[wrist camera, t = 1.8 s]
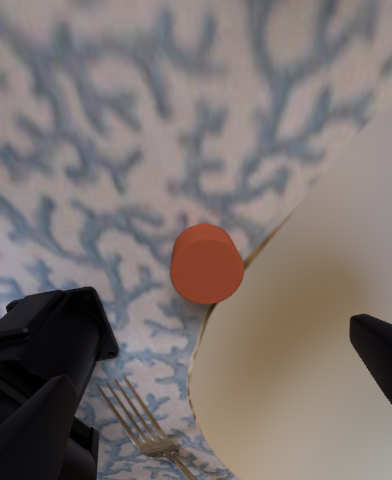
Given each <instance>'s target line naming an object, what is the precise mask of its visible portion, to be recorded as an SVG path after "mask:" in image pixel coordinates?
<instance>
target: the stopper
mask: <svg viewBox="0 0 392 480" xmlns="http://www.w3.org/2000/svg"><path fill="white" fill-rule="evenodd" d="M170 274H171V280H172V283H173V285H174V287H175V289H176V290H177V292H178V293H179V294H180V295H181V296H183V297H184V298H185V299H187V300H189V301H191V302H194V303H198V304H214V303H218V302H221V301H223V300H225V299H227V298H228V297H230V296H231V295H232V294H233V293H234V292H235V291H236V290H237V289H238V287H239V286H240V284H241V282H242V279H243V275H244V265H243V261H242V258H241V256H240V254H239V252H238V251H237V249H236V247H235V245H234V243H233V242H232V240H231V238H230V236H229V235H228V234H227V233H226V232H225V231H224V230H222V229H221V228H219V227H217V226H214V225H210V224H199V225H195V226H192V227H190V228H188V229H186V230H185V231H184V232H182V233H181V234H180V235H179V237H178V238H177V240H176V242H175V244H174V247H173V254H172V262H171V271H170Z"/></svg>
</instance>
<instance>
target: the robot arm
mask: <svg viewBox="0 0 392 480" xmlns="http://www.w3.org/2000/svg"><path fill="white" fill-rule="evenodd" d="M86 292H87V293H90V294H91V295H87V294H86ZM6 310H7V312H8V313H7V314H6V315H5V316H3V317H2V318H1V319H0V480H96V478H97V462H98V447H99V432H98V431H97V430H96V429H94V428H93V427H88V426H87V425H86V424H84V423H83V422H82V421H80V420H79V419H78V418H76V417H75V416H74V415H75V413H76V411H77V408H78V406H79V404H80V401H81V399H82V397H83V394H84V392H85V389H86V387H87V385H88V382H89V380H90V378H91V375H92V373H93V371H94V368H95V366H96V363H97V361H100V360H106V359H111V358H115V357H116V356H117V354H118V351H119V348H118V345H117V343H116V340H115V338H114V335H113V333H112V330H111V328H110V325H109V322H108V320H107V317H106V315H105V312H104V310H103V307H102V305H101V302H100V300H99V297H98V294H97V292H96V290H95V289H94V288H93V287H83V288H77V289H72V290H67V291H62V290H55V291H50V292H44V293H39V294H34V295H29V296H26V297H25V298H24V299H20V300H15V301H12V302H11V303H9V304H8V305H7V306H6ZM349 336H350V341H351V343H352V345H353V347H354V348H355V350H356V351H357V353H358V354H359V356H360V358H361V359H362V361H363V362H364V364H365V365H366V367H367V368H368V370H369V371H370V373H371V375H372V376H373V378H374V379H375V381H376V382H377V384H378V386H379V387H380V388H381V390H382V391H383V393H384V394H385V396H386V397H387V399H388V400H389V401H390V402H391V404H392V324H390V323H387V322H385V321H382V320H380V319H377V318H375V317H372V316H370V315H367V314H360V315H355V316H352V317H351V318H350V335H349ZM111 351H113V352H111Z"/></svg>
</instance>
